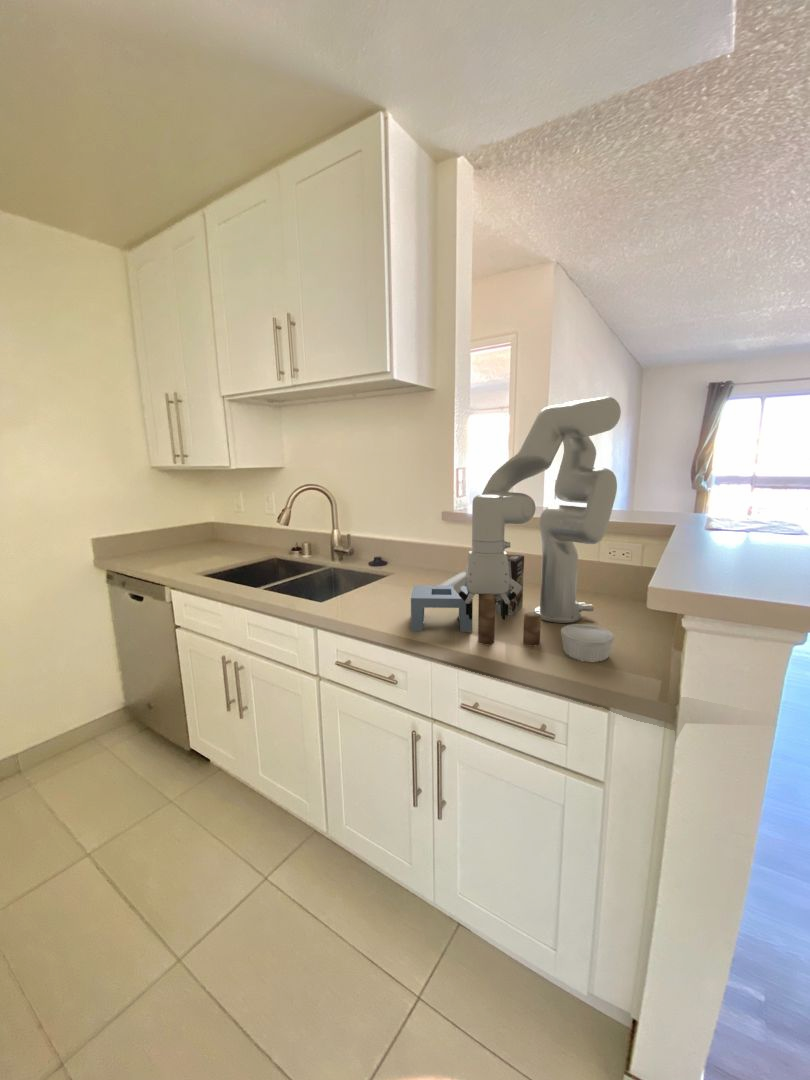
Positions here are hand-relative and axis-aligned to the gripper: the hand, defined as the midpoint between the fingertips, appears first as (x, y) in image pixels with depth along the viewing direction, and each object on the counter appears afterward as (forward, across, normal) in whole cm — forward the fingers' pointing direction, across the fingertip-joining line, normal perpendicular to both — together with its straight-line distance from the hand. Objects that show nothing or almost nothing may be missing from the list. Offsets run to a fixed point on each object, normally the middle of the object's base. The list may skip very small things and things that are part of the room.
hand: (486, 617), depth 106 cm
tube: (+7, +8, -40) cm, 41 cm away
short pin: (+6, -11, 0) cm, 13 cm away
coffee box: (+6, -9, -24) cm, 26 cm away
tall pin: (+6, 0, 0) cm, 6 cm away
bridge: (+6, +11, -12) cm, 17 cm away
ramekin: (+7, -22, +6) cm, 24 cm away
